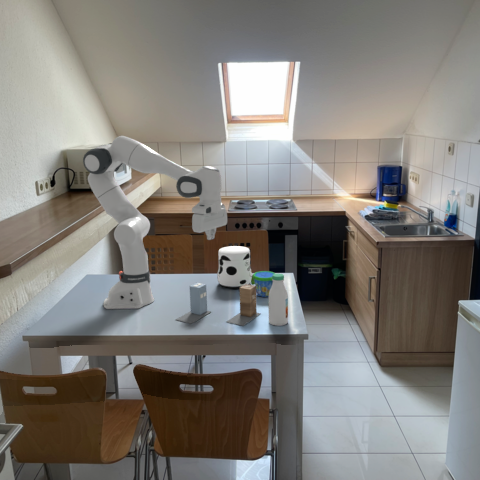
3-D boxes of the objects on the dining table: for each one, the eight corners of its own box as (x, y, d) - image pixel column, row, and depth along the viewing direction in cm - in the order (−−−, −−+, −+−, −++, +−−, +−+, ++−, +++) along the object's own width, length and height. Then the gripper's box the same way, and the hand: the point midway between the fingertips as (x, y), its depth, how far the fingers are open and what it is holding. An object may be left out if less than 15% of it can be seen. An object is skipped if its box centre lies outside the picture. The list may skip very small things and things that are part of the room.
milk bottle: (282, 327, 185) (282, 279, 180) (265, 323, 189) (264, 276, 184) (291, 320, 191) (291, 273, 187) (274, 317, 195) (274, 270, 191)
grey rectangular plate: (243, 326, 187) (243, 325, 187) (226, 322, 191) (226, 321, 191) (260, 314, 199) (260, 313, 199) (244, 310, 203) (244, 309, 203)
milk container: (259, 284, 236) (259, 249, 232) (234, 293, 225) (233, 256, 220) (235, 277, 248) (234, 243, 244) (210, 285, 237) (209, 250, 233)
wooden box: (250, 317, 195) (250, 289, 192) (240, 314, 197) (239, 287, 194) (256, 313, 199) (256, 285, 196) (246, 310, 201) (245, 283, 199)
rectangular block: (200, 315, 198) (199, 287, 195) (190, 312, 201) (189, 285, 198) (207, 311, 202) (206, 284, 199) (197, 308, 205) (196, 282, 202)
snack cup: (284, 296, 218) (284, 275, 216) (267, 302, 212) (267, 280, 210) (262, 288, 230) (262, 268, 228) (245, 293, 224) (245, 272, 222)
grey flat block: (191, 323, 191) (191, 323, 191) (175, 320, 195) (175, 319, 195) (211, 312, 202) (211, 311, 202) (196, 308, 206) (196, 308, 206)
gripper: (218, 202, 204) (218, 233, 207) (189, 209, 187) (189, 243, 190) (231, 203, 201) (230, 235, 204) (202, 210, 184) (202, 245, 187)
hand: (210, 239), depth 197 cm, fingers closed
